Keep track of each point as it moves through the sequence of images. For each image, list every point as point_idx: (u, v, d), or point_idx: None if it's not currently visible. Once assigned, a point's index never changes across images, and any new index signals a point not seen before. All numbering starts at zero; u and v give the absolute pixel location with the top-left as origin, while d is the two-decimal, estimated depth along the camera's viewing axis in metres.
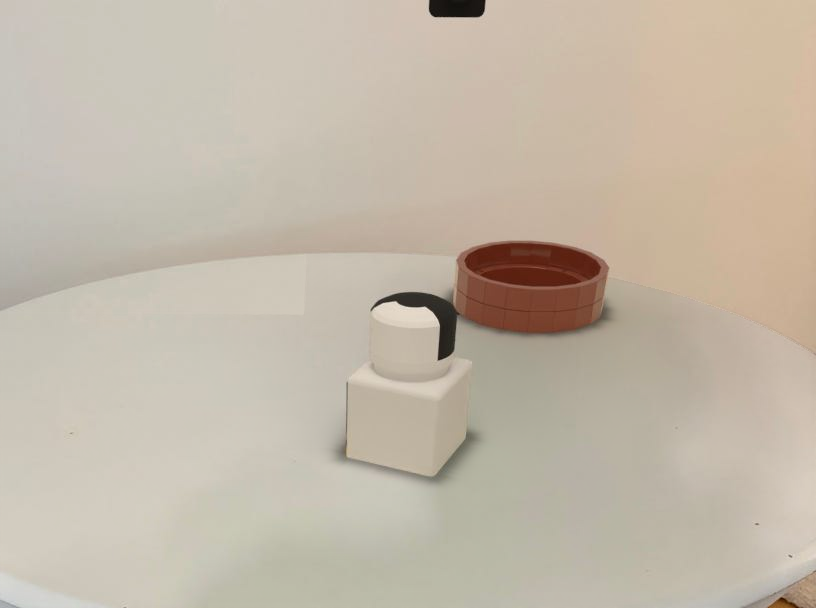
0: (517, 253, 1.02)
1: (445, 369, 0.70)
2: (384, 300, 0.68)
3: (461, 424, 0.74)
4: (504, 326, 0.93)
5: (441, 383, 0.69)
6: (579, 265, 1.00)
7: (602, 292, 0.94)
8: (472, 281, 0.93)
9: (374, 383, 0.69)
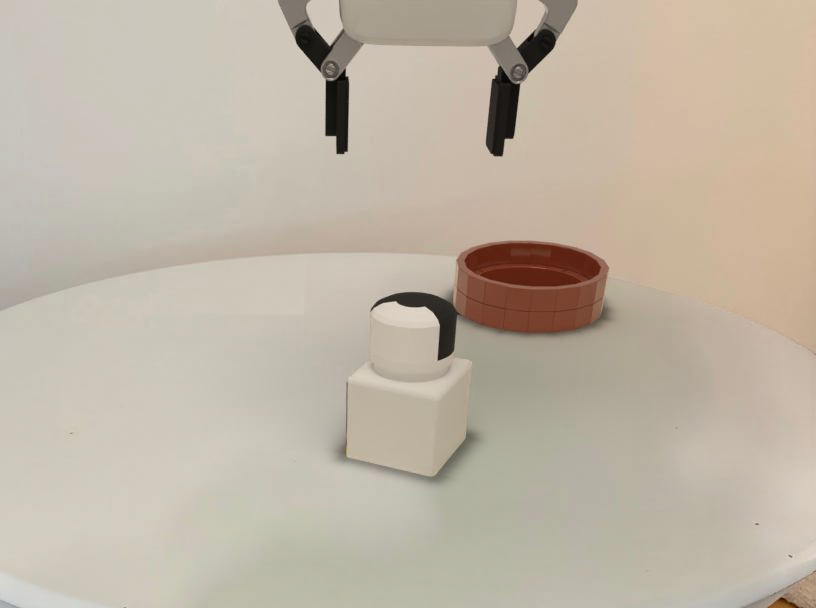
0: (517, 253, 1.02)
1: (445, 369, 0.70)
2: (384, 300, 0.68)
3: (461, 424, 0.74)
4: (504, 326, 0.93)
5: (441, 383, 0.69)
6: (579, 265, 1.00)
7: (602, 292, 0.94)
8: (472, 281, 0.93)
9: (374, 383, 0.69)
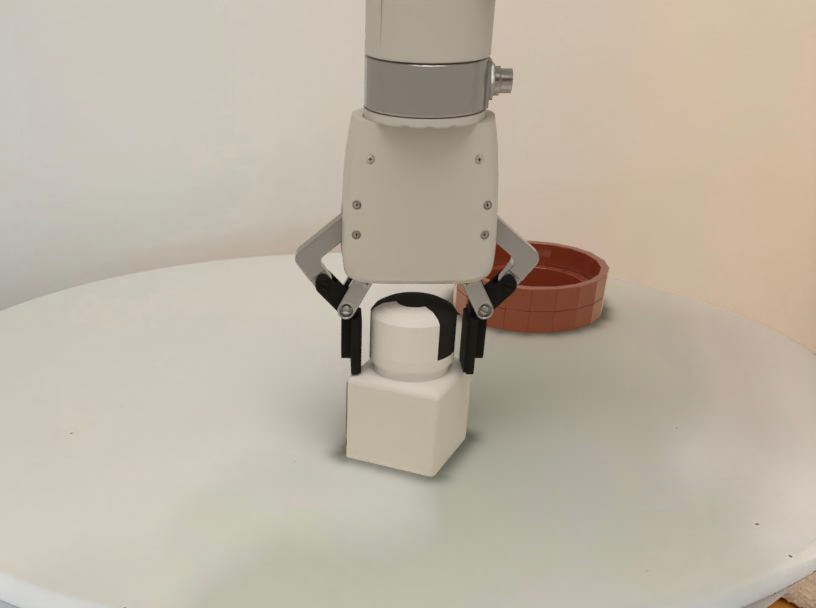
0: None
1: (445, 369, 0.70)
2: (384, 300, 0.68)
3: (461, 424, 0.74)
4: (504, 326, 0.93)
5: (441, 383, 0.69)
6: (579, 265, 1.00)
7: (602, 292, 0.94)
8: None
9: (374, 383, 0.69)
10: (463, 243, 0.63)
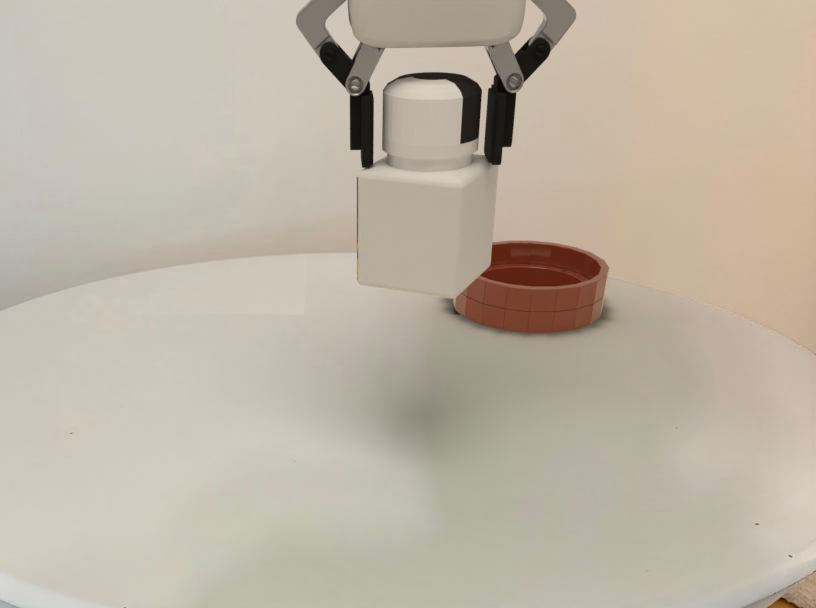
0: (517, 253, 1.02)
1: (469, 159, 0.61)
2: (399, 77, 0.60)
3: (487, 235, 0.66)
4: (504, 326, 0.93)
5: (465, 172, 0.60)
6: (579, 265, 1.00)
7: (602, 292, 0.94)
8: None
9: (388, 174, 0.61)
10: None
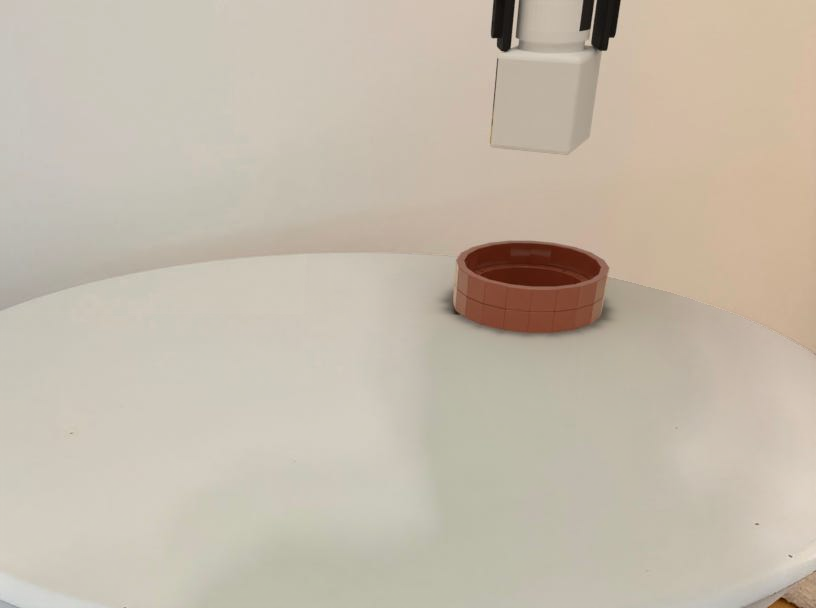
0: (517, 253, 1.02)
1: (583, 45, 0.81)
2: None
3: (590, 110, 0.85)
4: (504, 326, 0.93)
5: (581, 54, 0.80)
6: (579, 265, 1.00)
7: (602, 292, 0.94)
8: (472, 281, 0.93)
9: (522, 55, 0.80)
10: None
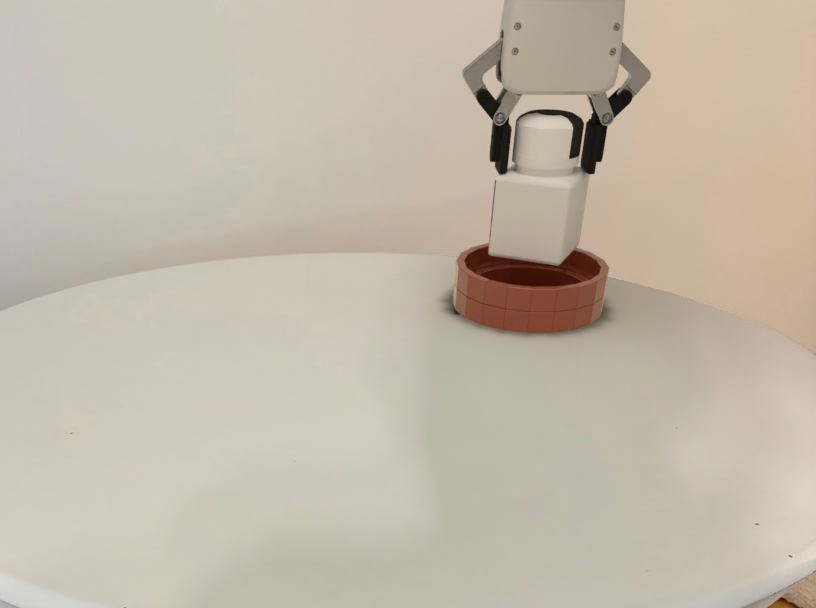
0: None
1: (572, 169, 0.89)
2: (527, 113, 0.88)
3: (579, 222, 0.94)
4: (504, 326, 0.93)
5: (570, 178, 0.89)
6: (579, 265, 1.00)
7: (602, 292, 0.94)
8: (472, 281, 0.93)
9: (517, 179, 0.89)
10: (596, 58, 0.83)
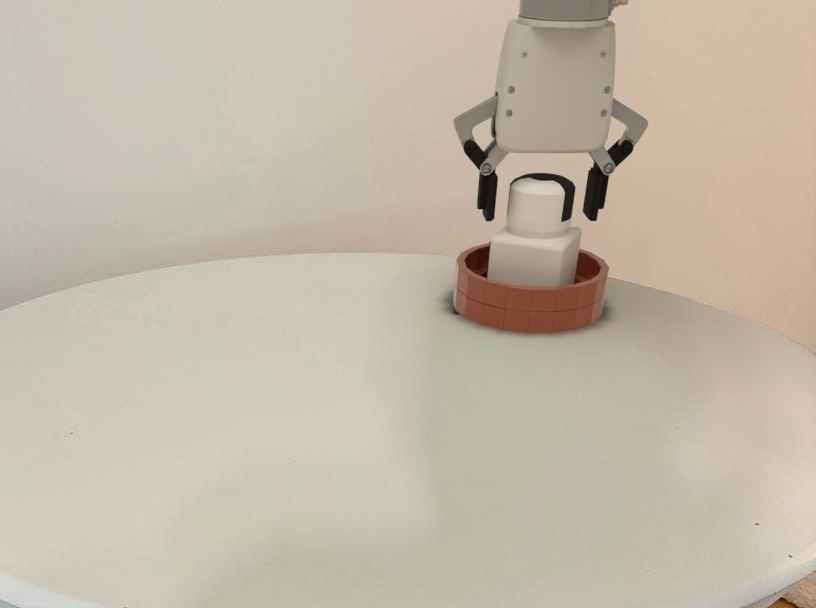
0: None
1: (564, 231, 0.93)
2: (521, 177, 0.91)
3: (571, 279, 0.97)
4: (504, 326, 0.93)
5: (563, 240, 0.92)
6: (579, 265, 1.00)
7: (602, 292, 0.94)
8: (472, 281, 0.93)
9: (511, 240, 0.92)
10: (587, 119, 0.86)
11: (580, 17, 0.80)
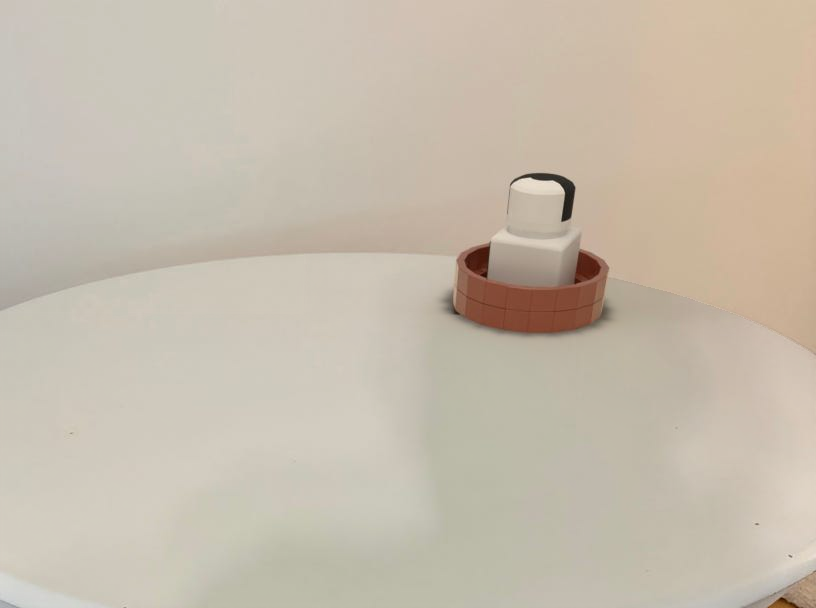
0: None
1: (564, 231, 0.93)
2: (521, 177, 0.91)
3: (571, 279, 0.97)
4: (504, 326, 0.93)
5: (563, 240, 0.92)
6: (579, 265, 1.00)
7: (602, 292, 0.94)
8: (472, 281, 0.93)
9: (511, 240, 0.92)
10: None
11: None
